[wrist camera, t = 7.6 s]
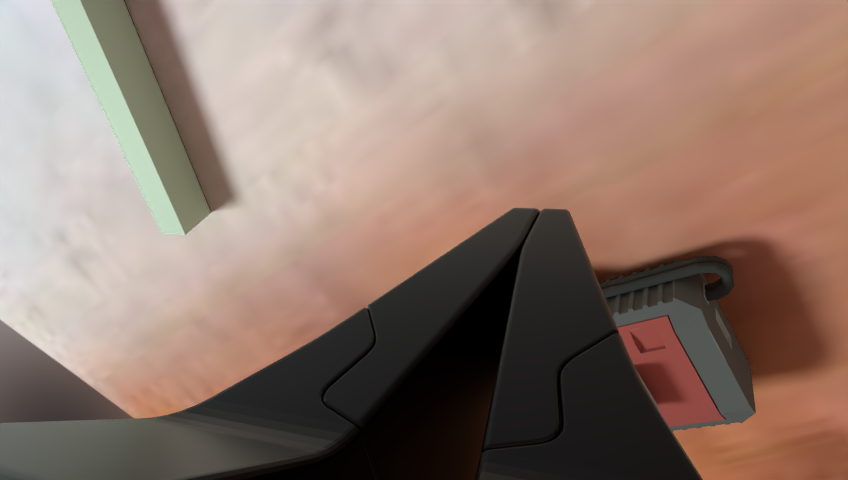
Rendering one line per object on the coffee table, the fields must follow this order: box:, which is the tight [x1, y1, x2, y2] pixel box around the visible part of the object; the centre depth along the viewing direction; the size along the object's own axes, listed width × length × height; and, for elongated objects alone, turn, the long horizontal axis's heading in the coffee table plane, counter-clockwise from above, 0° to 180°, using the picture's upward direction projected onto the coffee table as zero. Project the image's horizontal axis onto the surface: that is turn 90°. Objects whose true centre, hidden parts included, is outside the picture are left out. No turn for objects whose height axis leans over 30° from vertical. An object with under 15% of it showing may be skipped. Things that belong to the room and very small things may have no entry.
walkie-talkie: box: [599, 256, 756, 431], centre depth 26 cm, size 9×4×20 cm
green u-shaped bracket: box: [51, 0, 211, 235], centre depth 20 cm, size 30×14×2 cm, turn 100°
